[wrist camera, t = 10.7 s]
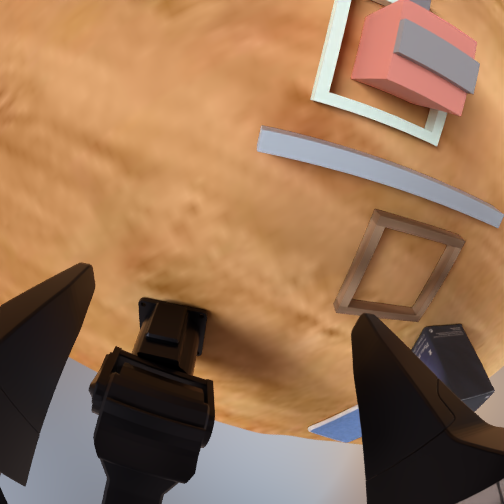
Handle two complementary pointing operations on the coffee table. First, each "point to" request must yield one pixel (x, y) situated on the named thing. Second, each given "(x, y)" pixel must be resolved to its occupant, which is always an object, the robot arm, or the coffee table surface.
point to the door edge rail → (373, 171)
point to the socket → (324, 96)
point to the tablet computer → (340, 426)
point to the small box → (454, 363)
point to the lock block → (417, 57)
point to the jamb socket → (366, 252)
